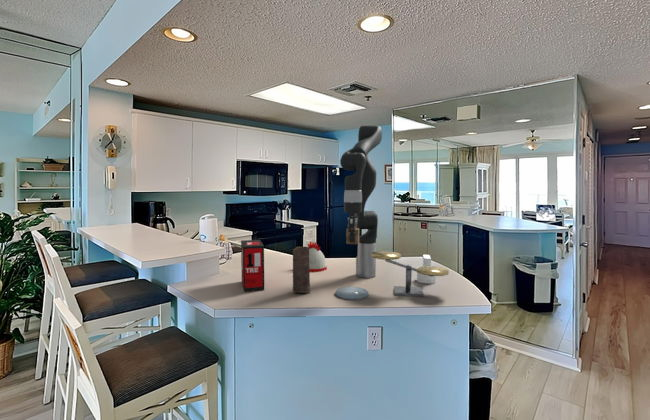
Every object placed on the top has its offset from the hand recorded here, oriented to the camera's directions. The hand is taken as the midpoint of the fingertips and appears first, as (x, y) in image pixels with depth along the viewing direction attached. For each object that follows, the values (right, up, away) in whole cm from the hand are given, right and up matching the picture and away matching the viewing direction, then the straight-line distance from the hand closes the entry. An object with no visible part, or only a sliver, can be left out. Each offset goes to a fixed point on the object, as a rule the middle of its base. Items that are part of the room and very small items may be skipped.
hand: (352, 241), depth 148 cm
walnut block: (0, -1, 0) cm, 1 cm away
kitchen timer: (-18, -20, +46) cm, 53 cm away
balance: (+25, -23, +5) cm, 34 cm away
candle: (-22, -23, +4) cm, 32 cm away
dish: (0, -23, +2) cm, 23 cm away
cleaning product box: (-45, -22, +14) cm, 52 cm away
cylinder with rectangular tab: (+38, -22, +23) cm, 49 cm away
